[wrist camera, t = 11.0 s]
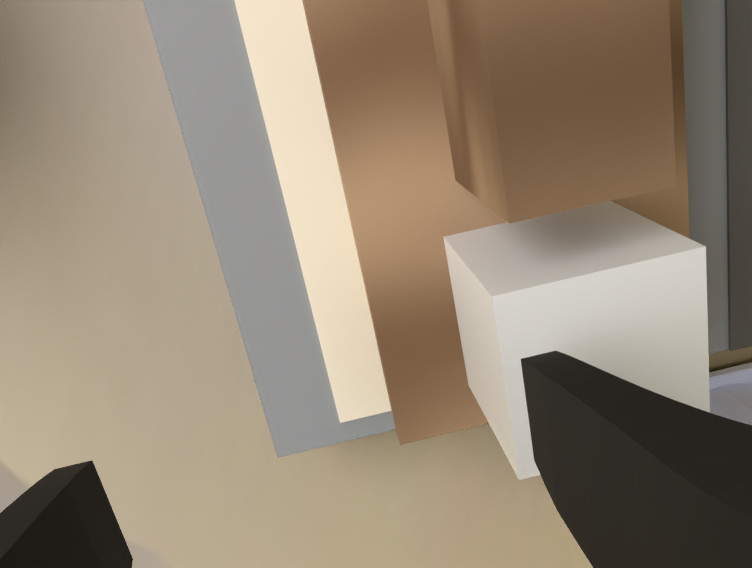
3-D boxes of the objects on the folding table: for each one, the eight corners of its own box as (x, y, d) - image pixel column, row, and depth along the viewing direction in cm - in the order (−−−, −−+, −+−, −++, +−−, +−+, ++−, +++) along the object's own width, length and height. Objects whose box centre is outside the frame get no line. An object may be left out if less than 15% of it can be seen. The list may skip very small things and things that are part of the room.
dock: (708, 304, 23) (768, 341, 20) (279, 405, 22) (277, 459, 19) (692, -401, 16) (778, -497, 14) (81, -290, 16) (34, -365, 13)
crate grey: (618, 349, 17) (710, 432, 14) (468, 384, 17) (519, 480, 13) (607, 199, 16) (705, 246, 12) (443, 236, 16) (491, 296, 12)
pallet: (655, 342, 20) (801, 460, 14) (389, 406, 19) (431, 553, 14) (614, -395, 14) (841, -701, 8) (229, -324, 13) (186, -593, 8)
